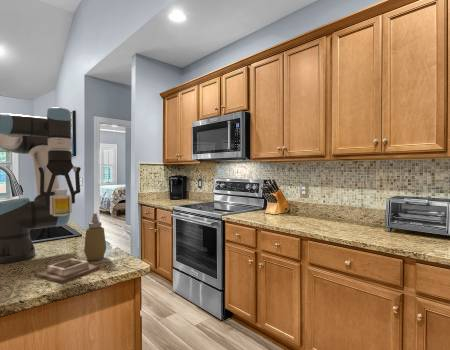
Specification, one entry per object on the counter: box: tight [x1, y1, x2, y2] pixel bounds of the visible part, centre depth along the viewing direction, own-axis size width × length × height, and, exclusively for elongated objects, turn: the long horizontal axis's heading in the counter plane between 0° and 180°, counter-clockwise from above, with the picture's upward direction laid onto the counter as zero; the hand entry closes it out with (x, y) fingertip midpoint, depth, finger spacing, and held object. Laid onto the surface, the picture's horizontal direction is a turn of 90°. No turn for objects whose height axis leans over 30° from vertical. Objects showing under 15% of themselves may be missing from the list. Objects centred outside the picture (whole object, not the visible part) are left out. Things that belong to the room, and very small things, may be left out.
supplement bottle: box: [52, 188, 69, 216], centre depth 104 cm, size 5×5×10 cm
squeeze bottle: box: [83, 212, 107, 261], centre depth 111 cm, size 8×8×18 cm
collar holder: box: [34, 257, 101, 284], centre depth 97 cm, size 14×14×3 cm
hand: (60, 213), depth 104 cm, fingers closed on supplement bottle, 5 cm apart
